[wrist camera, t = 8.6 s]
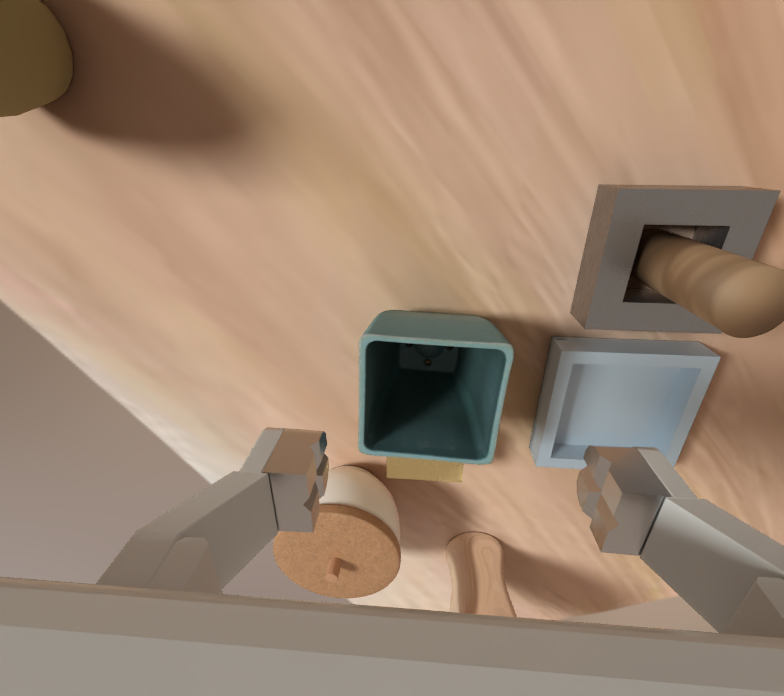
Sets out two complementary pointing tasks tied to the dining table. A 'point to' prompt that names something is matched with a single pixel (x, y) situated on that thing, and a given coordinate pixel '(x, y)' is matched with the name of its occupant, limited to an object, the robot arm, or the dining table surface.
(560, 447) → the tray
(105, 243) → the dining table surface
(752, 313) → the dowel
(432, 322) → the flower pot
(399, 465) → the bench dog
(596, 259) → the socket block
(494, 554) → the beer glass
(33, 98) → the squeeze bottle
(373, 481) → the lidded jar
